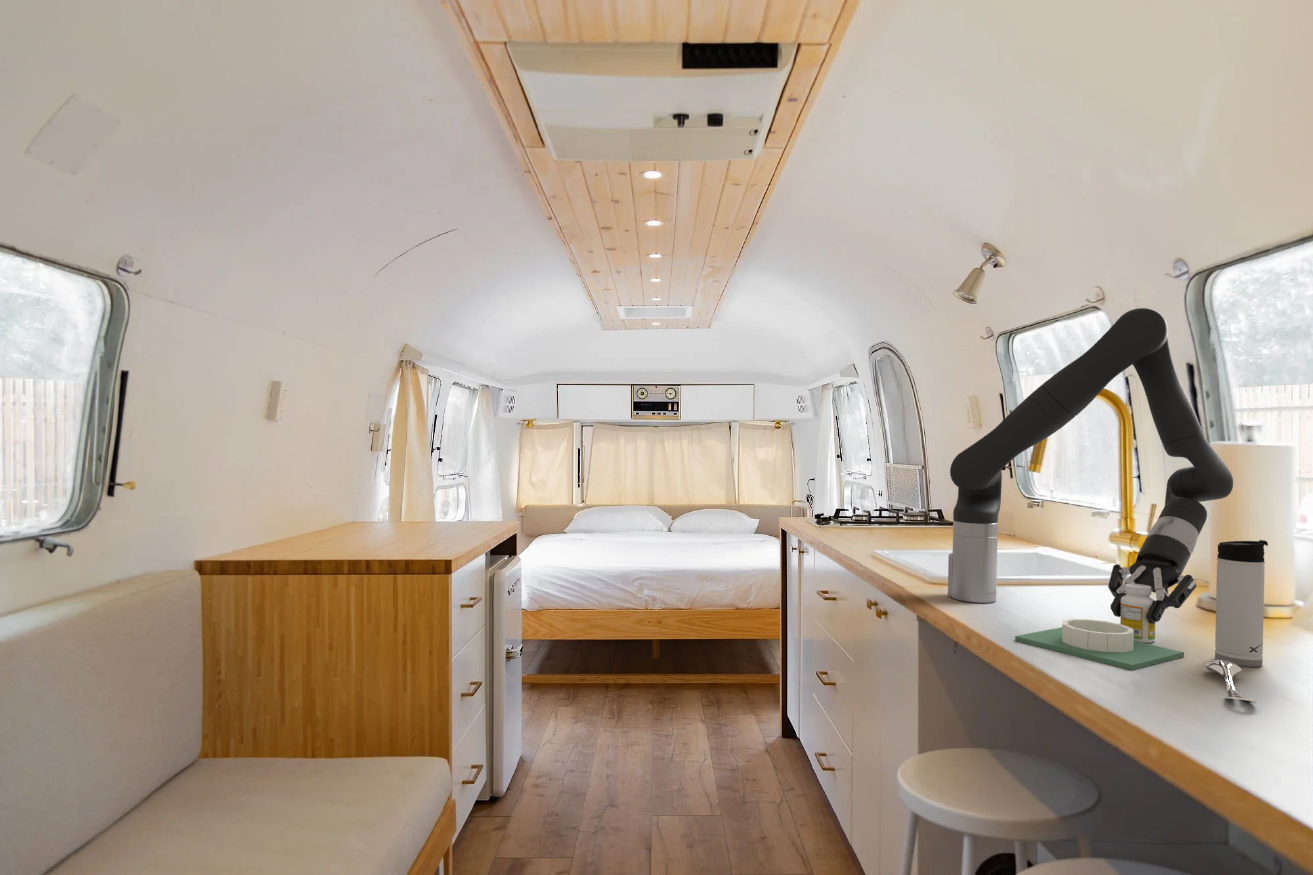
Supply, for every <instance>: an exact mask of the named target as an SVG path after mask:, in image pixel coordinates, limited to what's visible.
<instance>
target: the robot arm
mask: <svg viewBox="0 0 1313 875" xmlns="http://www.w3.org/2000/svg"><path fill="white" fill-rule="evenodd" d="M1168 336H1169V326H1168V323H1167V320H1166V319H1165V317H1164V315H1162V313H1160V312H1159V311H1157V310H1155V309H1152V308H1148V307H1138V308H1134V309H1131V310H1127V311H1126V312H1125V313H1123V314H1122V315H1121V316H1120V317H1119V318H1117V319H1116V321H1115V322H1114V324H1113V325H1112V326H1111V327H1109V329H1108V330H1107V331H1106V332H1105V333H1104V334H1103V335H1102V336H1101V337H1100V338H1099V339H1098V340H1097V341H1096V342H1095V343H1094V344H1093V345H1092V346H1091V347H1090V348H1088V350H1086V352H1084V353H1083V354H1081V356H1079V357H1077V358H1076V359H1075V360H1073V361H1072V362H1069V363H1068V364H1067V365H1066V366H1065V367H1063V368H1062V369H1060V370H1059V371H1058V372H1056V373H1054V375H1052V376H1051V377H1049V379H1047V380H1045V381H1044V382H1043V383H1042V384H1041V385H1040V386H1038V388H1036V389H1035V390H1034V391H1032V393H1030V394H1029V395H1028V396H1027V397H1026V398H1025V399H1024V400H1023V401H1021V402H1020V403H1019V405H1017V406H1016V407H1015V408H1014V409H1013V410H1012V411H1011V412H1010V413H1009V414H1007V416H1006V417H1004V419H1002V421H1001V422H1000V423H998V425H997V426H995V427H994V428H993V429H992V430H991V431H990V432H988V433H987V434H986V435H984V436H983V437H981V438H980V439H979V440H977V441H976V442H974V443H973V444H971V445H969V446H968V447H967V448H965V449H964V450H962V451H961V452H960V453H958V454H957V455H956V456H955V457H954V459H953V460H952V462H951V465H950V469H949V475H950V479H951V481H952V483H953V484H954V485H955V486H956V487H957V488H958V490H957V491H958V492H957V500H956V502H955V503H956V504H955V506H954V507H953V512H952V513H953V514H952V516H953V517H952V520H953V522H952V552H951V553H949V554H948V560H947V561H948V563H947V564H948V567H947V568H948V569H947V571H948V572H947V573H948V574H947V575H948V576H947V597H951V598H952V599H954V600H958V601H962V602H967V603H984V604H985V603H986V604H987V603H988V604H989V603H994V602H996V601H997V581H998V580H997V578H998V532H999V531H998V529H999V528H998V525H999V513H1000V510H1001V505H1002V504H1001V502H1002V486H1003V484H1002V483H1003V482H1002V480H1003V473H1002V472H1003V471H1002V470H1003V469H1004V468H1005V467H1006V466H1007V465H1008V464H1010V463H1011V461H1013V459H1015V458H1016V457H1017V456H1019V455H1020V454H1021V453H1023V452H1024V451H1026V450H1029V449H1030V448H1031V447H1033V446H1035V445H1037V444H1039V443H1040V442H1042V441H1044V440H1045V439H1047V438H1048V437H1051V436H1052V435H1053V434H1055V433H1056V432H1058V431H1059V430H1060V429H1062V428H1063V427H1064V426H1066V425H1068V423H1069V422H1071V421H1072V420H1073V419H1074V418H1076V417H1077V416H1078V415H1079V414H1081V413H1082V412H1083V410H1084V409H1085V408H1087V407H1088V406H1089V405H1090V404H1091V403H1092V402H1093V401H1094V400H1095V398H1097V396H1098V395H1100V394H1101V392H1102V391H1103V390H1104V389H1105V387H1107V385H1108V384H1109V383H1111V381H1112V380H1114V379H1115V378H1116V377H1118V375H1120V374H1121V373H1123V372H1124V371H1125V370H1126V369H1128V368H1129V367H1131V366H1133V368H1134V369H1135V371H1136V374H1137V376H1138V377H1139V380H1140V382H1141V385H1142V388H1143V391H1144V393H1145V396H1146V400H1147V403H1148V407H1149V411H1150V413H1151V414H1150V415H1151V416H1152V420H1153V424H1154V425H1155V426H1154V427H1155V428H1156V431H1157V434H1158V436H1159V439H1160V441H1161V444H1162V447H1163V449H1164V451H1165V453H1166V454H1167V455H1168V456H1169V457H1172V458H1184V459H1187V461H1188V462H1190V464H1192V466H1187V467H1182V468H1179V469H1177V470H1175V471H1174V472H1173V473H1172V474H1171V475H1169V478H1168V479H1167V482H1166V489H1165V491H1166V492H1165V497H1164V507H1163V508H1162V510H1161V512H1160V514H1159V516H1158V518H1157V520H1156V521H1155V523H1154V524H1153V525H1152V527H1151V528H1150V530H1149V532H1148V534H1147V535H1146V538H1145V539H1144V541H1143V543H1142V545H1141V547H1140V549H1139V551H1138V553H1137V555H1136V559H1135V562H1133V564H1131V565H1130V566H1129V567H1128V566H1127V567H1122V566H1121V565H1120V564H1119V563H1118V564H1117V563H1116V564H1114V565H1113V566H1112V571H1111V573H1110V577H1109V582H1108V585H1107V589H1109V592H1110V593H1111V595H1112V597H1113V600H1112V601H1111V604H1110V610H1111V612H1112V614H1113V615H1114V617H1117V618H1120V616H1121V598H1122V597H1123V596H1126V595H1127V593H1126V592H1125V585H1126V584H1141V585H1147V586H1150V587H1151V593H1155V598H1156V600H1154V599H1153V600H1154V601H1153V603H1152V605H1151V607H1150V609H1149V611H1148V613H1147V615H1146V618H1147V620H1148V622H1149V623H1151V624H1155V625H1156V623H1158V622H1160V621H1161V619H1162V617H1163V615H1164V613H1165V610H1167V609H1169V608H1172V607H1173V608H1174V609H1179V608H1181V607H1182V606H1183V604H1184V603H1185V602H1186V601H1187V599H1188V598H1189V597H1190V596H1191V594H1192V593H1193V592H1194V591H1195V589H1196V588H1197V583H1196V582H1195V579H1194V578H1193V576H1192V575H1191V574H1186V575H1183V572H1184V570H1185V568H1186V566H1187V564H1188V562H1189V560H1190V558H1191V557H1192V555H1193V554H1192V553H1194V549H1195V547H1196V546H1197V541H1198V539H1199V536H1200V534H1201V532H1202V530H1203V527H1204V526H1205V523H1206V521H1207V518H1208V511H1207V509H1206V507H1205V506H1204V505H1203V504H1202V503H1201V502H1208V501H1209V502H1210V501H1214V500H1221V499H1225V498H1227V497H1229V495H1230V494H1231V493H1232V491H1233V487H1234V478H1233V474H1232V472H1231V470H1230V469H1229V467H1228V466H1227V464H1226V463H1225V461H1223V459H1222V458H1221V457H1220V455H1219V454H1218V453H1217V452H1216V450H1215V449H1214V447H1212V445H1211V444H1210V443H1209V441H1208V440H1207V439H1206V437H1205V434H1204V431H1203V429H1202V427H1201V424H1200V421H1199V418H1198V416H1197V414H1196V411H1195V409H1194V407H1193V405H1192V403H1191V401H1190V399H1189V397H1188V395H1187V392H1186V391H1185V389H1184V386H1183V385H1182V383H1181V380H1180V378H1179V376H1178V373H1177V370H1176V367H1175V364H1174V362H1173V361H1174V360H1173V359H1172V358H1173V357H1172V353H1171V348H1170V344H1169V343H1170V342H1169V338H1168ZM1174 585H1176V586H1175V588H1174V589H1173V590H1172V591H1171V592H1170V593H1169V589H1170V588H1172V587H1173V586H1174Z"/></svg>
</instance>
